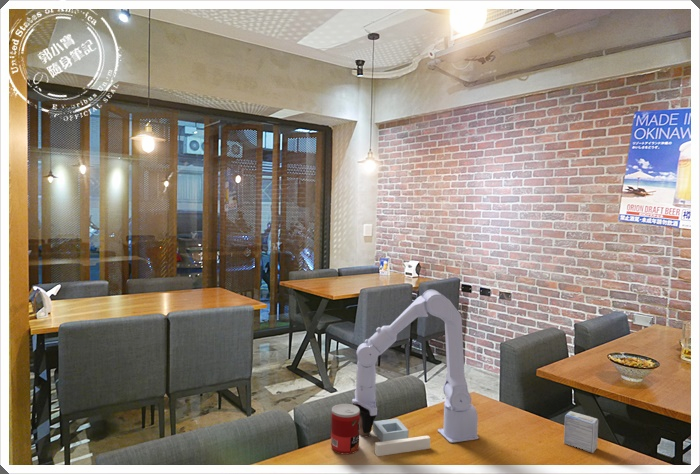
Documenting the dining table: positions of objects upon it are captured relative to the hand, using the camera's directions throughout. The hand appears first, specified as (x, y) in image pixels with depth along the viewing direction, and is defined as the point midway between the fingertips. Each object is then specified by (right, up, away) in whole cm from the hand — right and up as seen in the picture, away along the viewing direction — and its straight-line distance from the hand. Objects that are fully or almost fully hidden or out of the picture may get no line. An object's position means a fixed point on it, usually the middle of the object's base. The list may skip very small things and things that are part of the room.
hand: (364, 429), depth 135 cm
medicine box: (+62, -3, -4) cm, 62 cm away
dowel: (0, -1, 0) cm, 1 cm away
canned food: (-6, -2, -8) cm, 10 cm away
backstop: (+10, -2, -9) cm, 14 cm away
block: (+8, -2, -1) cm, 8 cm away
